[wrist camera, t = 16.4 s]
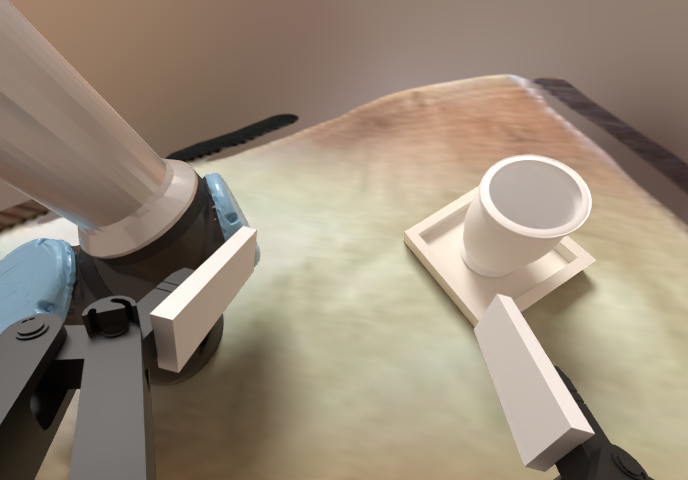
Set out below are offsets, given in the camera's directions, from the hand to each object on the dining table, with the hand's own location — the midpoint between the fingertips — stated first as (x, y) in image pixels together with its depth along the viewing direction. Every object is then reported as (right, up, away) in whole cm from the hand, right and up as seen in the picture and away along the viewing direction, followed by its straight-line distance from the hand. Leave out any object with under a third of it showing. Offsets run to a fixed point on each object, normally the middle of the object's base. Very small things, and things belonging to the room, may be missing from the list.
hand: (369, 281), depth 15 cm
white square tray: (+21, 0, +28) cm, 35 cm away
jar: (+21, 0, +27) cm, 34 cm away
